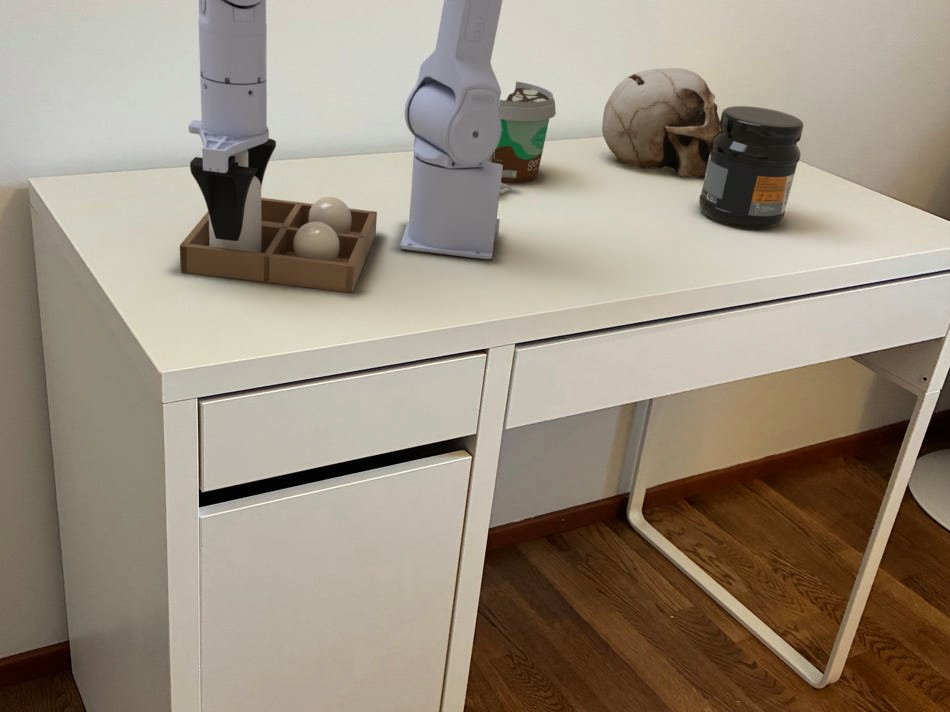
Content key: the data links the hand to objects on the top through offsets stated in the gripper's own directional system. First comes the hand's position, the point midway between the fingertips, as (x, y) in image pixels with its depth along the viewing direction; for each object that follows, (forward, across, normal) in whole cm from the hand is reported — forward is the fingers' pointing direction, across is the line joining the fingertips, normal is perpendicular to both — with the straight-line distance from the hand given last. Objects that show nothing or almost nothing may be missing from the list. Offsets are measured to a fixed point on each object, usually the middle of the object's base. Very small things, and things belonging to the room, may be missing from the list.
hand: (235, 227), depth 105 cm
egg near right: (+1, 0, +8) cm, 8 cm away
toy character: (0, -34, +19) cm, 39 cm away
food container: (+4, -40, +27) cm, 49 cm away
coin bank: (+4, -54, +47) cm, 72 cm away
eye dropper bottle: (+4, 0, 0) cm, 4 cm away
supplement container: (+4, -34, +54) cm, 64 cm away
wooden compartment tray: (+3, -4, +4) cm, 6 cm away
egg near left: (+1, -8, +8) cm, 11 cm away
